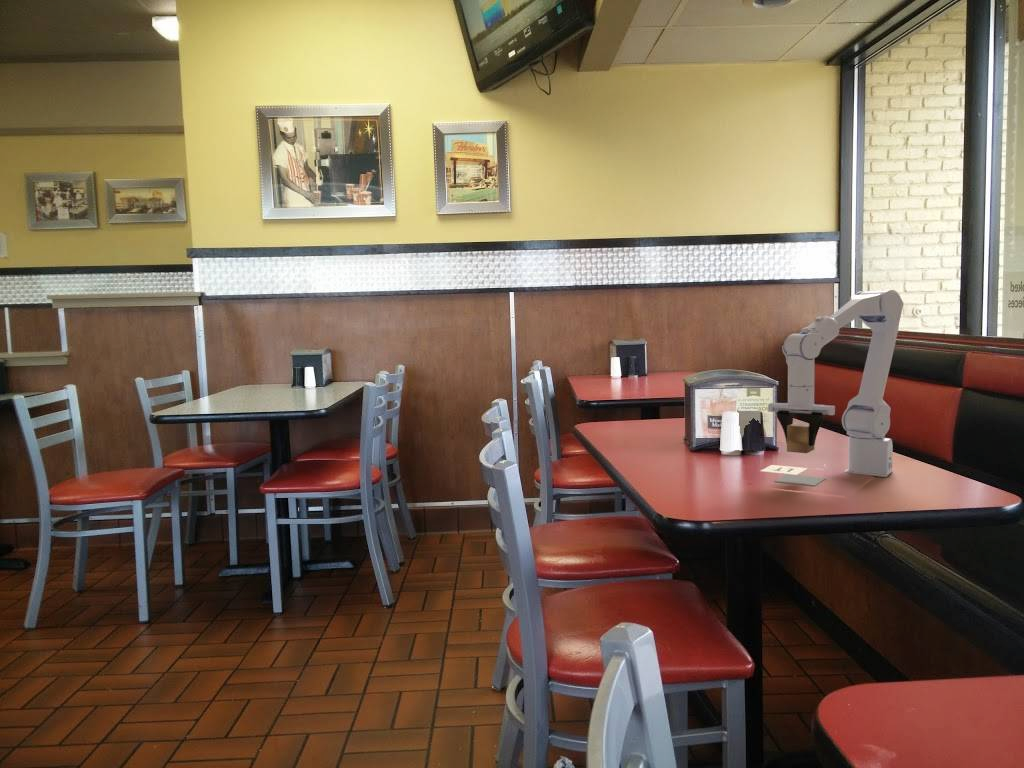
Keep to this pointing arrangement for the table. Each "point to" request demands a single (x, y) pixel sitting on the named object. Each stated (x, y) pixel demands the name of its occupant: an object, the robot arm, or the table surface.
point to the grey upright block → (747, 417)
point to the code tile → (784, 469)
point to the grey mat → (800, 480)
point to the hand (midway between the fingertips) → (800, 444)
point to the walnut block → (798, 438)
